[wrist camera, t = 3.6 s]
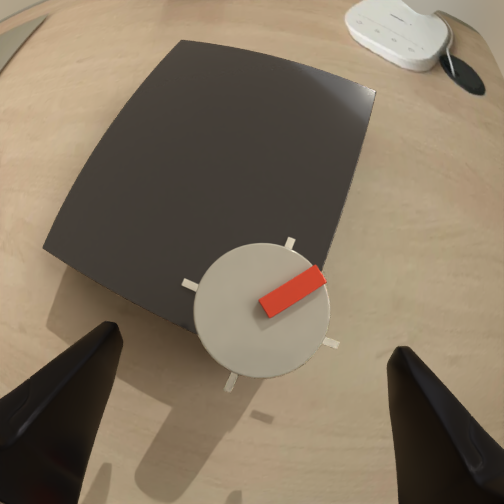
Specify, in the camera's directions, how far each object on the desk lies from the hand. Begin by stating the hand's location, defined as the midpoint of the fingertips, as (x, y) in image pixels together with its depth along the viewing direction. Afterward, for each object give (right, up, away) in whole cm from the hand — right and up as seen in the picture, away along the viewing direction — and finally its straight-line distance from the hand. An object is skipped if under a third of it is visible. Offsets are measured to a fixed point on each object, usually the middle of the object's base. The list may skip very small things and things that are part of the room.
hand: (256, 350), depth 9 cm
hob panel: (-2, +6, +10) cm, 12 cm away
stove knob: (0, 0, +5) cm, 5 cm away
